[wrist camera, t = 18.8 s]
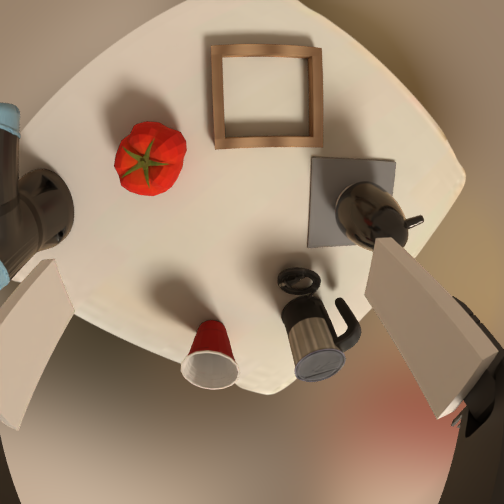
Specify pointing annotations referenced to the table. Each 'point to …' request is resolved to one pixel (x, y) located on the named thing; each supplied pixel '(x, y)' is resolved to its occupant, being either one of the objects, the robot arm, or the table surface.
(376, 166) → the rubber mat
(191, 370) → the plastic cup
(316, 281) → the milk frother
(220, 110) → the walnut collar
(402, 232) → the pump dispenser
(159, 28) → the table surface
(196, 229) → the table surface
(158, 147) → the tomato
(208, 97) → the table surface
